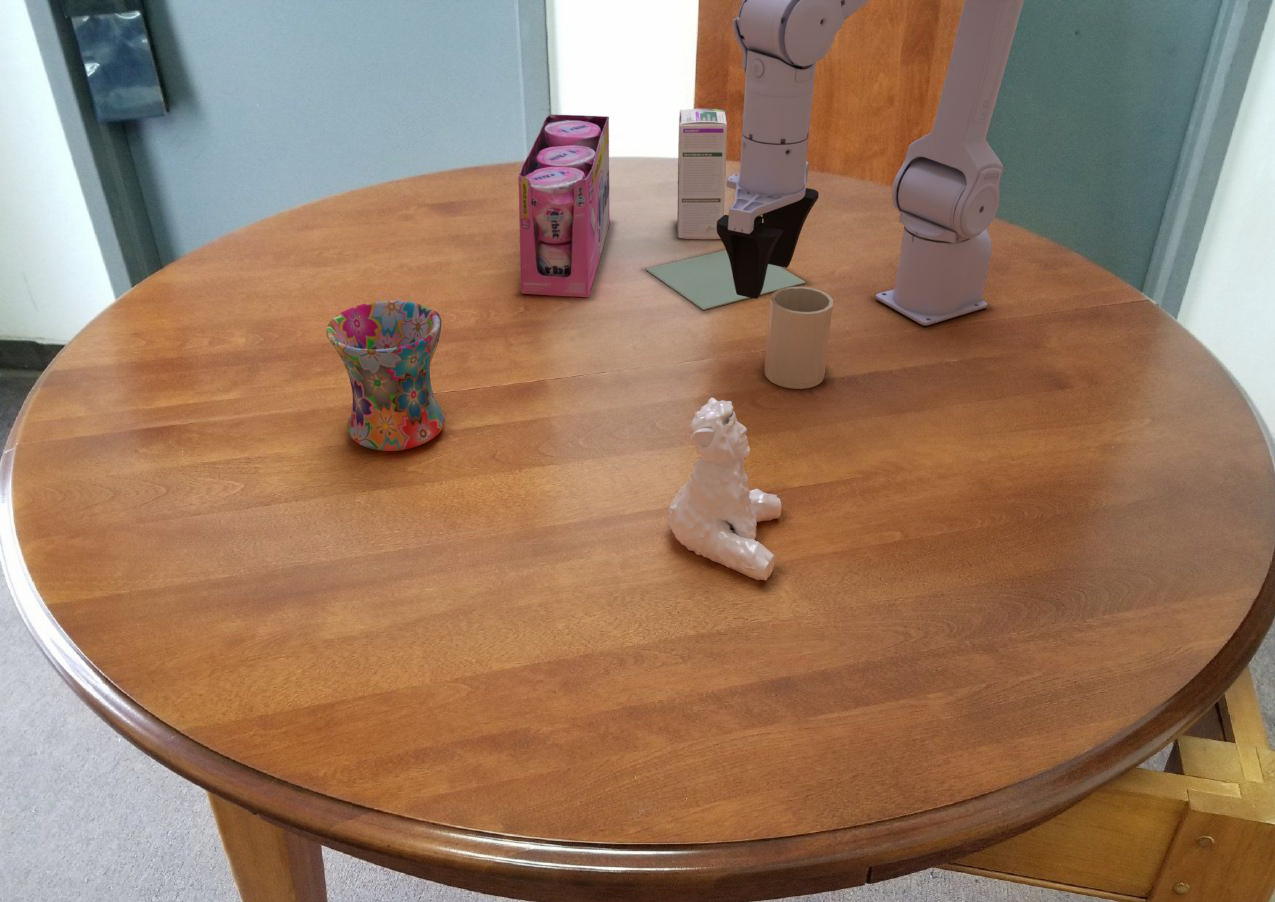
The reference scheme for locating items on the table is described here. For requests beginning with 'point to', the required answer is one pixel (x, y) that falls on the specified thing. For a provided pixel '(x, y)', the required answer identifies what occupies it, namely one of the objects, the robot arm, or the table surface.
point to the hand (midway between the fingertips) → (763, 279)
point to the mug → (389, 372)
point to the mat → (715, 279)
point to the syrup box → (701, 172)
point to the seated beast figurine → (722, 497)
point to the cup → (798, 337)
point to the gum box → (564, 205)
